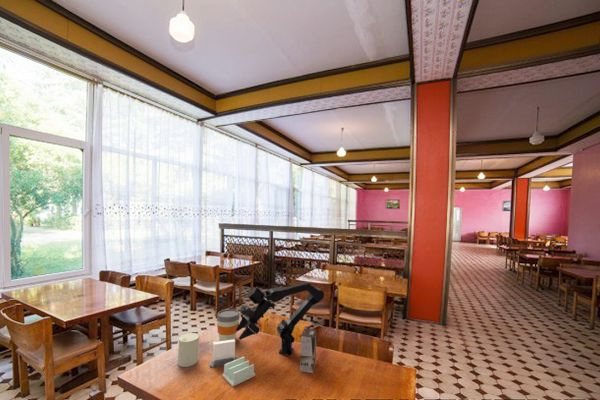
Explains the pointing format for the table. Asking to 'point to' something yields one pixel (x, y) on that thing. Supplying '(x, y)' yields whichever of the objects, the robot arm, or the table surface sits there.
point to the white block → (223, 350)
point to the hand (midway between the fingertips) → (237, 334)
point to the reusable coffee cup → (227, 324)
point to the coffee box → (308, 350)
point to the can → (188, 349)
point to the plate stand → (221, 362)
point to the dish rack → (238, 371)
